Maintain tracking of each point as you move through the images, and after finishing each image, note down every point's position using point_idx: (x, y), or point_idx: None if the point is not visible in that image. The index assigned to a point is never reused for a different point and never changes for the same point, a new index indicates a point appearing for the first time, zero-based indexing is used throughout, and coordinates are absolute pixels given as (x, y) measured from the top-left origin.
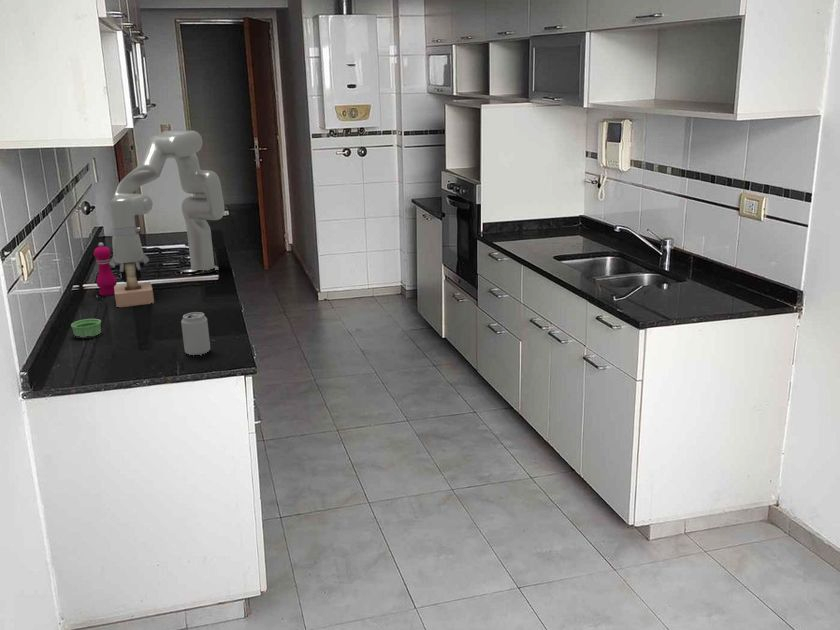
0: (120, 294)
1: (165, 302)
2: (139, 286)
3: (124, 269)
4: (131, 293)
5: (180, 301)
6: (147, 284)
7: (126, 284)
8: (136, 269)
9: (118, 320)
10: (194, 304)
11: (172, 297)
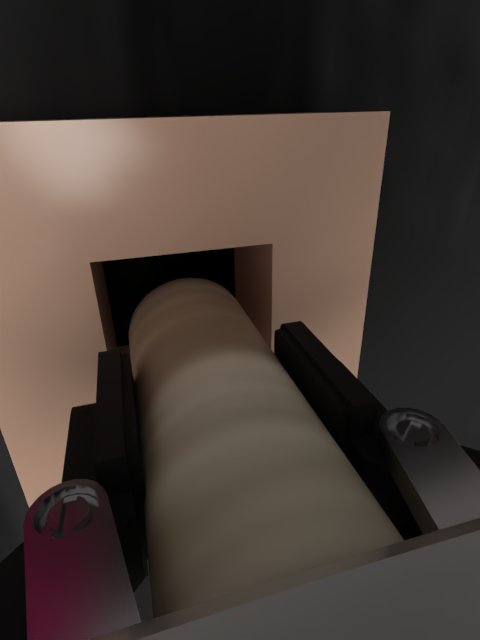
0: None
1: (364, 377)
2: (255, 242)
3: (149, 554)
4: None
5: (437, 378)
6: (341, 238)
7: (92, 119)
8: (348, 453)
9: None
10: (471, 443)
11: (427, 275)
